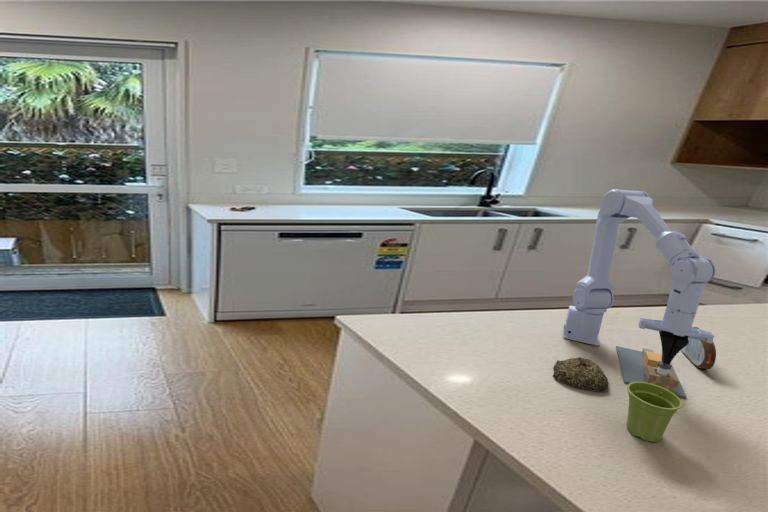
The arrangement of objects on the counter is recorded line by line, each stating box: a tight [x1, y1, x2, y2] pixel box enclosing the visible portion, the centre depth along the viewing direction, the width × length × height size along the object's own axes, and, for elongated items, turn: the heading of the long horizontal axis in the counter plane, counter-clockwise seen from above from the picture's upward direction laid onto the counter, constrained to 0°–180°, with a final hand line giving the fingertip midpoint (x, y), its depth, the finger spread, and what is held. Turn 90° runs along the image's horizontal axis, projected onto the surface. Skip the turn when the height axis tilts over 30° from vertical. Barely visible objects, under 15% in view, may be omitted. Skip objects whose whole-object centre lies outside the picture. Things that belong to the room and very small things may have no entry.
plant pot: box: [626, 382, 683, 443], centre depth 89 cm, size 9×9×9 cm
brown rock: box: [552, 356, 609, 393], centre depth 108 cm, size 13×12×5 cm
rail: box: [641, 347, 655, 357], centre depth 116 cm, size 2×16×2 cm, turn 158°
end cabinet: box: [643, 365, 680, 394], centre depth 107 cm, size 6×5×4 cm
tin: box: [680, 326, 717, 370], centre depth 122 cm, size 15×3×8 cm, turn 168°
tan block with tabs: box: [643, 351, 673, 370], centre depth 112 cm, size 5×5×4 cm
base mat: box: [615, 345, 688, 400], centre depth 115 cm, size 13×21×1 cm, turn 158°
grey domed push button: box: [656, 361, 673, 377], centre depth 106 cm, size 3×3×4 cm
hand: (665, 362), depth 105 cm, fingers closed
